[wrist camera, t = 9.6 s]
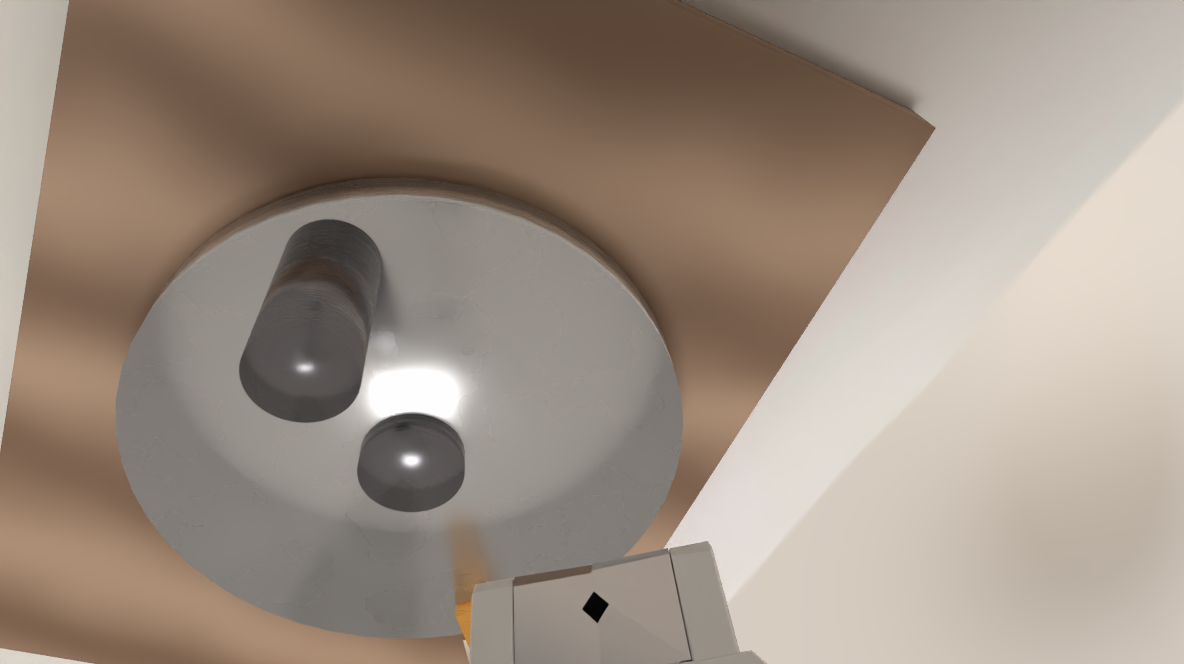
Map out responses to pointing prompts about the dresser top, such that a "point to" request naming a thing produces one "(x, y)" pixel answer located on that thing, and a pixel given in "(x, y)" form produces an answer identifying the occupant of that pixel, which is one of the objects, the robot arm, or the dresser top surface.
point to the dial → (397, 405)
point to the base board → (402, 149)
